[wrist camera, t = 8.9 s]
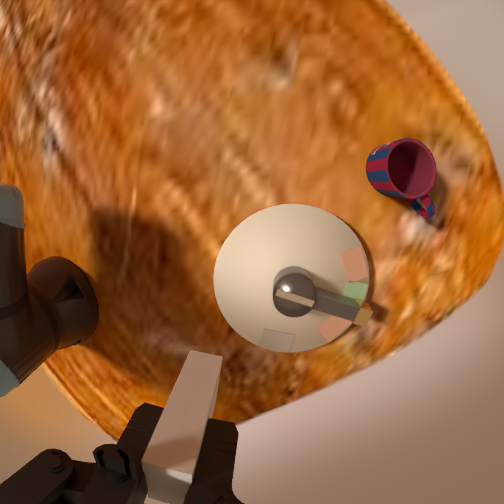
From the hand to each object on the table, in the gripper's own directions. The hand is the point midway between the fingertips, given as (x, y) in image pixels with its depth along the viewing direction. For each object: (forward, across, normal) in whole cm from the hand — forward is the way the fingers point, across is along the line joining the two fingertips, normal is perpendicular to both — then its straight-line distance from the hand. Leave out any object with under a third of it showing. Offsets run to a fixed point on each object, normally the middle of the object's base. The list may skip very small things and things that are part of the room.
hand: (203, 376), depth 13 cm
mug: (+26, +17, +13) cm, 33 cm away
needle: (+24, +10, -3) cm, 26 cm away
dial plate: (+26, +7, -3) cm, 26 cm away
